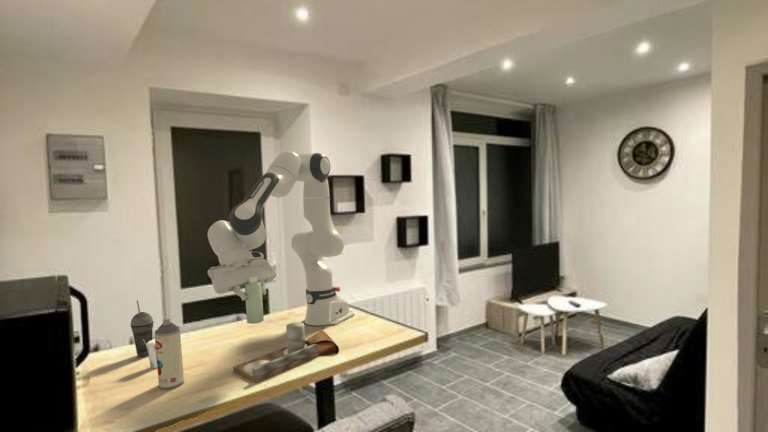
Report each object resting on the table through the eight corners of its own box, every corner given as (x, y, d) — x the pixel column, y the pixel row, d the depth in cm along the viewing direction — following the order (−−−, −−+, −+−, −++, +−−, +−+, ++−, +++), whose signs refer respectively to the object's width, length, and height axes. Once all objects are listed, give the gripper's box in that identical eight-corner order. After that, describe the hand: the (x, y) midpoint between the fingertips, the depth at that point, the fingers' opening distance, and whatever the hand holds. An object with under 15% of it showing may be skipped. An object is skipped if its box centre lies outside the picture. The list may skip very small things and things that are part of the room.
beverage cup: (146, 359, 148) (141, 303, 146) (128, 359, 149) (123, 303, 148) (161, 351, 155) (156, 297, 153) (143, 350, 156) (139, 297, 155)
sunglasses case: (302, 340, 160) (310, 324, 161) (318, 346, 163) (326, 330, 164) (316, 357, 144) (324, 339, 145) (333, 364, 146) (342, 345, 147)
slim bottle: (257, 317, 137) (255, 274, 136) (266, 320, 134) (264, 276, 133) (243, 321, 133) (241, 277, 132) (252, 324, 130) (249, 279, 129)
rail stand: (295, 347, 154) (294, 318, 153) (319, 355, 145) (317, 325, 144) (233, 371, 135) (231, 338, 134) (256, 382, 127) (254, 347, 126)
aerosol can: (157, 383, 129) (151, 319, 127) (181, 377, 133) (176, 314, 131) (160, 392, 123) (155, 324, 122) (186, 384, 127) (181, 319, 126)
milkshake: (146, 366, 142) (143, 337, 142) (164, 362, 145) (161, 334, 144) (144, 371, 138) (142, 341, 138) (163, 367, 140) (160, 338, 140)
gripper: (208, 261, 129) (227, 298, 123) (266, 252, 144) (285, 283, 139) (202, 274, 132) (220, 310, 126) (259, 263, 147) (278, 295, 142)
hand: (255, 296), depth 133 cm, fingers closed on slim bottle, 5 cm apart
